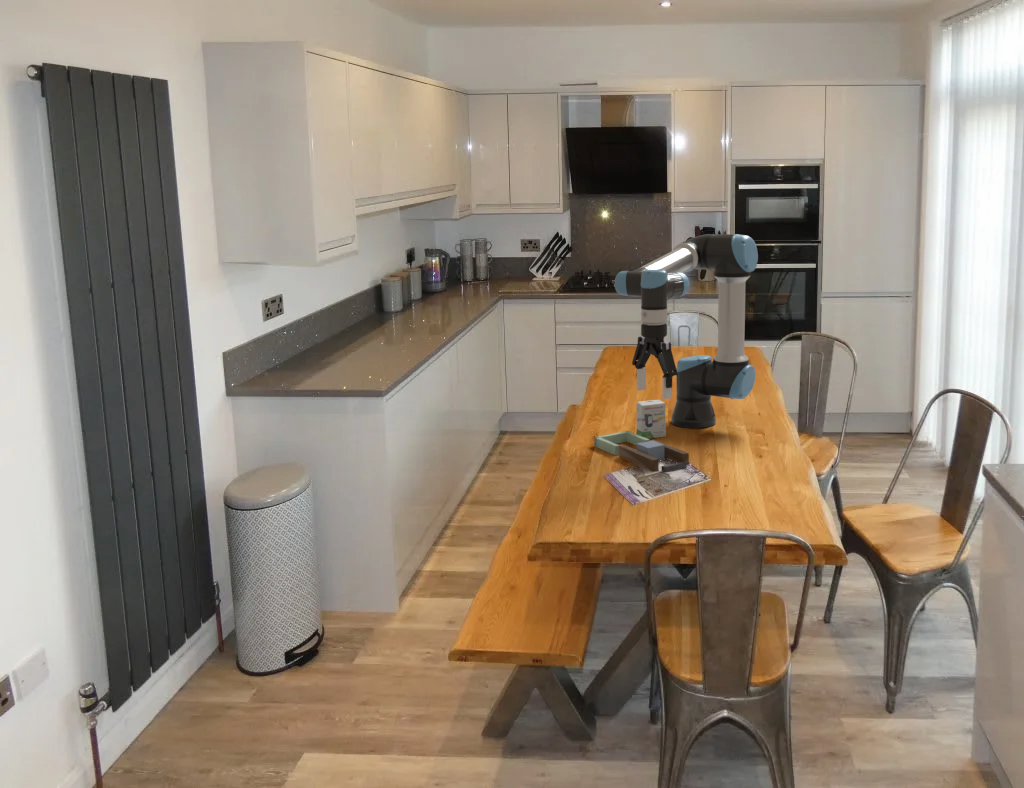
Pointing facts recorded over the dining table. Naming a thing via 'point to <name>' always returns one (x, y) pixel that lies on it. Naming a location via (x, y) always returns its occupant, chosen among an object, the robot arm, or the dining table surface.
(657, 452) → the block
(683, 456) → the channel
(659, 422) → the ink box
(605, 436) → the frame
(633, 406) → the dining table surface
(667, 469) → the bar
